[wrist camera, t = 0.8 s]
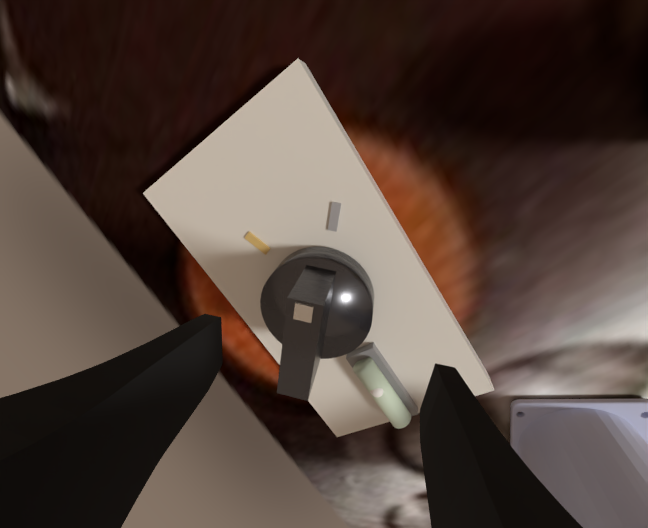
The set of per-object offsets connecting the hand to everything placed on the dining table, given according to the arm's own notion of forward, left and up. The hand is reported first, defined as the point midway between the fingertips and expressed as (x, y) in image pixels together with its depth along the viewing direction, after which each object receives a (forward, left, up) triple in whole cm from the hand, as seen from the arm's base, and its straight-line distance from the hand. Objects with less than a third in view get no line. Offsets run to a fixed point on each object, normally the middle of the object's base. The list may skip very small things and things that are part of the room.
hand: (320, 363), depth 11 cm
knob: (-2, +2, -9) cm, 9 cm away
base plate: (-2, +2, -10) cm, 11 cm away
